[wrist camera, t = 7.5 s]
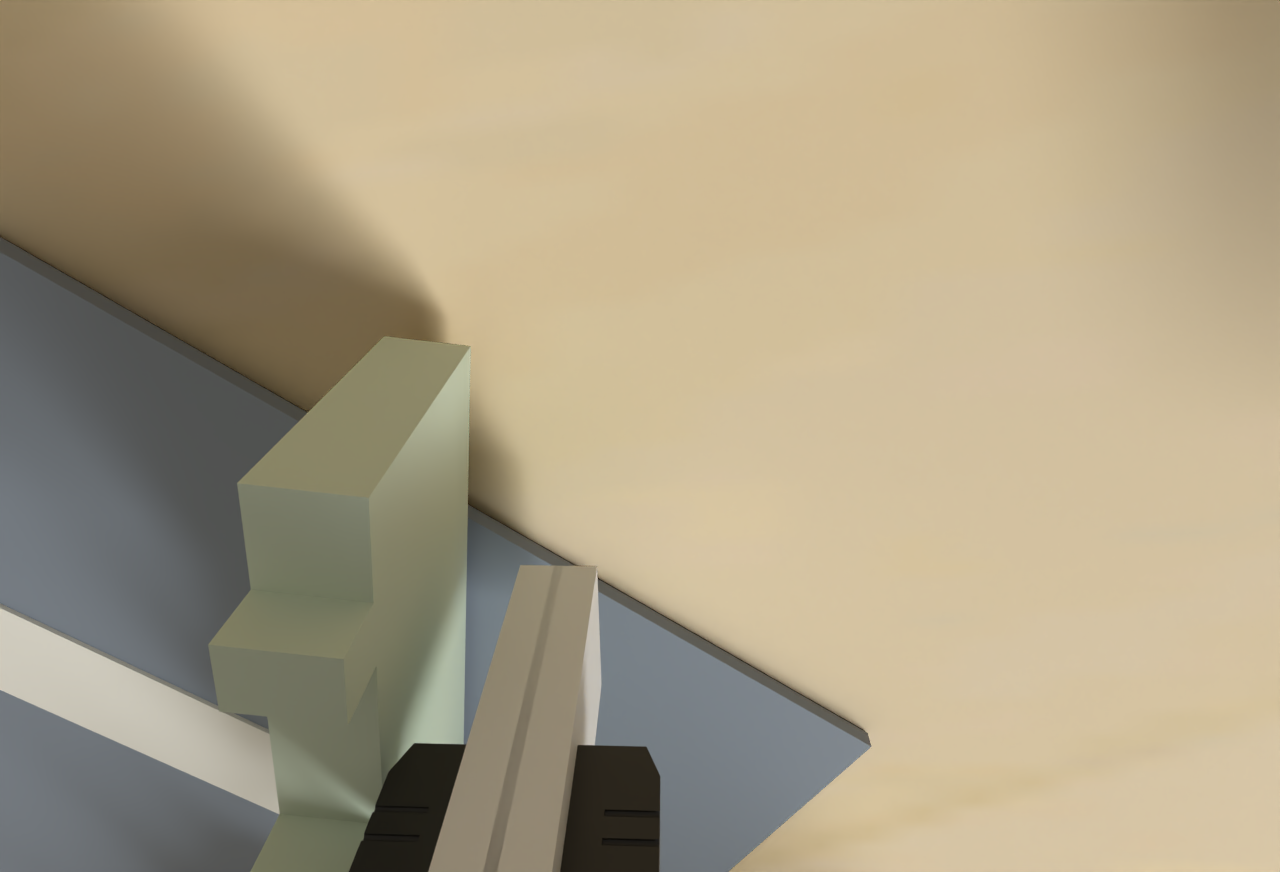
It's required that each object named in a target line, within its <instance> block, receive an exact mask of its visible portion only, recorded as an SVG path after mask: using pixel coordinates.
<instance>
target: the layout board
mask: <svg viewBox="0 0 1280 872" xmlns="http://www.w3.org/2000/svg"><path fill="white" fill-rule="evenodd" d="M306 414H307V412H305V411H303V410H302V409H300V408H298V407H296V406H295V405H293V404H291V403H289V402H288V401H286V400H284V399H282V398H281V397H279V396H277V395H275V394H274V393H272V392H270V391H269V390H267V389H265V388H263V387H262V386H260V385H258V384H256V383H255V382H253V381H251V380H249V379H248V378H246V377H244V376H242V375H241V374H239V373H237V372H235V371H234V370H232V369H230V368H228V367H227V366H225V365H223V364H221V363H220V362H218V361H216V360H214V359H213V358H211V357H209V356H207V355H206V354H204V353H202V352H200V351H199V350H197V349H195V348H193V347H192V346H190V345H188V344H186V343H185V342H183V341H181V340H179V339H178V338H176V337H174V336H172V335H171V334H169V333H167V332H165V331H164V330H162V329H160V328H158V327H157V326H155V325H153V324H151V323H150V322H148V321H146V320H144V319H143V318H141V317H139V316H137V315H136V314H134V313H132V312H130V311H129V310H127V309H125V308H123V307H122V306H120V305H118V304H116V303H115V302H113V301H111V300H109V299H108V298H106V297H104V296H102V295H101V294H99V293H97V292H95V291H94V290H92V289H90V288H88V287H87V286H85V285H83V284H81V283H80V282H78V281H76V280H74V279H73V278H71V277H69V276H67V275H66V274H64V273H62V272H60V271H59V270H57V269H55V268H53V267H52V266H50V265H48V264H46V263H45V262H43V261H41V260H39V259H38V258H36V257H34V256H32V255H31V254H29V253H27V252H25V251H24V250H22V249H20V248H18V247H17V246H15V245H13V244H12V243H10V242H8V241H6V240H5V239H3V238H1V237H0V872H250V871H251V869H252V867H253V865H254V863H255V861H256V860H257V858H258V856H259V854H260V852H261V850H262V848H263V846H264V844H265V842H266V840H267V838H268V836H269V834H270V832H271V830H272V828H273V826H274V824H275V822H276V820H277V818H278V816H279V814H280V812H279V804H278V797H277V789H276V781H275V773H274V766H273V758H272V750H271V742H270V735H269V727H268V719H267V717H266V716H256V715H247V714H237V713H228V712H219V708H218V702H217V696H216V690H215V684H214V678H213V672H212V666H211V659H210V653H209V647H208V644H209V643H210V642H211V640H212V639H213V638H214V636H215V635H216V634H217V633H218V631H219V630H220V629H221V627H222V626H223V625H224V624H225V622H226V621H227V620H228V618H229V617H230V616H231V615H232V613H233V612H234V611H235V609H236V608H237V607H238V606H239V604H240V603H241V602H242V600H243V599H244V598H245V597H246V595H247V594H248V593H249V591H250V590H251V587H250V579H249V572H248V564H247V556H246V548H245V541H244V533H243V525H242V517H241V510H240V502H239V494H238V486H237V483H238V482H239V481H240V480H241V479H242V478H243V477H244V476H245V475H246V474H247V473H248V472H249V471H250V470H251V469H252V468H253V467H254V466H255V465H256V464H257V463H258V462H259V461H260V460H261V459H262V458H263V457H264V456H265V455H266V454H267V453H268V452H269V451H270V450H271V449H272V448H273V447H274V446H275V445H276V444H277V443H278V442H279V441H280V440H281V439H282V438H283V437H284V436H285V435H286V434H287V433H288V432H289V431H290V430H291V429H292V428H293V427H294V426H295V425H296V424H297V423H298V422H299V421H300V420H301V419H302V418H303V417H304V416H305V415H306ZM520 565H548V566H574V565H573V564H571V563H569V562H567V561H566V560H564V559H562V558H560V557H559V556H557V555H555V554H553V553H552V552H550V551H548V550H546V549H545V548H543V547H541V546H539V545H538V544H536V543H534V542H532V541H531V540H529V539H527V538H526V537H524V536H522V535H520V534H519V533H517V532H515V531H513V530H512V529H510V528H508V527H506V526H505V525H503V524H501V523H499V522H498V521H496V520H494V519H492V518H491V517H489V516H487V515H485V514H484V513H482V512H480V511H478V510H477V509H475V508H473V507H471V506H470V505H468V526H467V582H466V638H465V695H464V744H467V741H468V738H469V734H470V731H471V728H472V724H473V721H474V718H475V714H476V711H477V708H478V704H479V701H480V698H481V694H482V691H483V688H484V684H485V681H486V678H487V674H488V671H489V668H490V664H491V661H492V658H493V654H494V651H495V648H496V644H497V641H498V638H499V634H500V631H501V628H502V624H503V621H504V618H505V614H506V611H507V608H508V604H509V601H510V598H511V594H512V591H513V588H514V584H515V581H516V578H517V574H518V571H519V568H520ZM598 604H599V631H600V658H601V694H600V703H599V712H598V720H597V729H596V738H595V745H603V746H645V747H647V749H648V751H649V753H650V755H651V757H652V759H653V762H654V764H655V766H656V768H657V770H658V772H659V774H660V872H728V871H730V870H731V869H732V868H733V867H734V866H735V865H736V864H738V863H739V862H740V861H741V860H742V859H743V858H744V857H746V856H747V855H748V854H749V853H750V852H751V851H752V850H754V849H755V848H756V847H757V846H758V845H759V844H760V843H762V842H763V841H764V840H765V839H766V838H767V837H768V836H770V835H771V834H772V833H773V832H774V831H775V830H776V829H778V828H779V827H780V826H781V825H782V824H783V823H784V822H786V821H787V820H788V819H789V818H790V817H791V816H793V815H794V814H795V813H796V812H797V811H798V810H799V809H801V808H802V807H803V806H804V805H805V804H806V803H807V802H809V801H810V800H811V799H812V798H813V797H814V796H815V795H817V794H818V793H819V792H820V791H821V790H822V789H823V788H825V787H826V786H827V785H828V784H829V783H830V782H831V781H833V780H834V779H835V778H836V777H837V776H838V775H839V774H841V773H842V772H843V771H844V770H845V769H846V768H847V767H849V766H850V765H851V764H852V763H853V762H854V761H855V760H857V759H858V758H859V757H860V756H861V755H862V754H863V753H865V752H866V751H867V750H868V749H869V748H870V747H871V744H870V740H869V737H868V733H866V732H865V731H863V730H861V729H859V728H858V727H856V726H854V725H852V724H851V723H849V722H847V721H845V720H844V719H842V718H840V717H838V716H837V715H835V714H833V713H831V712H830V711H828V710H826V709H824V708H823V707H821V706H819V705H817V704H816V703H814V702H812V701H810V700H809V699H807V698H805V697H803V696H802V695H800V694H798V693H796V692H795V691H793V690H791V689H789V688H788V687H786V686H784V685H783V684H781V683H779V682H777V681H776V680H774V679H772V678H770V677H769V676H767V675H765V674H763V673H762V672H760V671H758V670H756V669H755V668H753V667H751V666H749V665H748V664H746V663H744V662H742V661H741V660H739V659H737V658H735V657H734V656H732V655H730V654H728V653H727V652H725V651H723V650H721V649H720V648H718V647H716V646H714V645H713V644H711V643H709V642H707V641H706V640H704V639H702V638H700V637H699V636H697V635H695V634H693V633H692V632H690V631H688V630H686V629H685V628H683V627H681V626H679V625H678V624H676V623H674V622H672V621H671V620H669V619H667V618H665V617H664V616H662V615H660V614H658V613H657V612H655V611H653V610H651V609H650V608H648V607H646V606H644V605H643V604H641V603H639V602H637V601H636V600H634V599H632V598H630V597H629V596H627V595H625V594H623V593H622V592H620V591H618V590H616V589H615V588H613V587H611V586H609V585H608V584H606V583H604V582H602V581H601V580H599V579H598Z"/></svg>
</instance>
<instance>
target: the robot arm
mask: <svg viewBox="0 0 1280 872" xmlns="http://www.w3.org/2000/svg"><path fill="white" fill-rule="evenodd" d="M600 694H601V658H600V631H599V604H598V576H597V566H548V565H520V568H519V571H518V574H517V578H516V581H515V584H514V588H513V591H512V594H511V598H510V601H509V604H508V608H507V611H506V614H505V618H504V621H503V624H502V628H501V631H500V634H499V638H498V641H497V644H496V648H495V651H494V654H493V658H492V661H491V664H490V668H489V671H488V674H487V678H486V681H485V684H484V688H483V691H482V694H481V698H480V701H479V704H478V708H477V711H476V714H475V718H474V721H473V724H472V728H471V731H470V734H469V738H468V741H467V744H431V743H414V744H413V745H412V746H411V747H410V748H409V749H408V750H407V752H406V753H405V754H404V755H403V756H402V757H401V758H400V759H399V761H398V762H397V763H396V764H395V765H394V766H393V767H392V768H391V769H390V771H389V772H388V774H387V777H386V779H385V782H384V784H383V787H382V789H381V792H380V794H379V797H378V799H377V802H376V804H375V811H374V812H372V814H371V817H370V819H369V822H368V825H367V827H366V830H365V832H364V839H363V841H361V842H360V845H359V847H358V850H357V852H356V855H355V857H354V860H353V862H352V865H351V867H350V870H349V872H660V774H659V772H658V770H657V768H656V766H655V764H654V762H653V759H652V757H651V755H650V753H649V751H648V749H647V747H645V746H603V745H595V738H596V729H597V720H598V712H599V703H600Z"/></svg>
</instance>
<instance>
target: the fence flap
mask: <svg viewBox="0 0 1280 872" xmlns="http://www.w3.org/2000/svg"><path fill="white" fill-rule="evenodd" d="M470 357H471V346H465V345H457V344H448V343H439V342H431V341H422V340H413V339H405V338H396V337H387V336H384V337H383V338H382V339H381V340H380V341H379V342H378V343H377V344H376V345H375V346H374V347H373V348H372V349H371V350H370V351H369V352H368V353H367V354H366V355H365V356H364V357H363V358H362V359H361V360H360V361H359V362H358V363H357V364H356V365H355V366H354V367H353V368H352V369H351V370H350V371H349V372H348V373H347V374H346V375H345V376H344V377H343V378H342V379H341V380H340V381H339V382H338V383H337V384H336V385H335V386H334V387H333V388H332V389H331V390H330V391H329V392H328V393H327V394H326V395H325V396H324V397H323V398H322V399H321V400H320V401H319V402H318V403H317V404H316V405H315V406H314V407H313V408H312V409H311V410H310V411H309V412H308V413H307V414H306V415H305V416H304V417H303V418H302V419H301V420H300V421H299V422H298V423H297V424H296V425H295V426H294V427H293V428H292V429H291V430H290V431H289V432H288V433H287V434H286V435H285V436H284V437H283V438H282V439H281V440H280V441H279V442H278V443H277V444H276V445H275V446H274V447H273V448H272V449H271V450H270V451H269V452H268V453H267V454H266V455H265V456H264V457H263V458H262V459H261V460H260V461H259V462H258V463H257V464H256V465H255V466H254V467H253V468H252V469H251V470H250V471H249V472H248V473H247V474H246V475H245V476H244V477H243V478H242V479H241V480H240V481H239V482H238V483H237V486H238V494H239V502H240V510H241V517H242V525H243V533H244V541H245V548H246V556H247V564H248V572H249V579H250V587H251V590H250V591H249V593H248V594H247V595H246V597H245V598H244V599H243V600H242V602H241V603H240V604H239V606H238V607H237V608H236V609H235V611H234V612H233V613H232V615H231V616H230V617H229V618H228V620H227V621H226V622H225V624H224V625H223V626H222V627H221V629H220V630H219V631H218V633H217V634H216V635H215V636H214V638H213V639H212V640H211V642H210V643H209V644H208V647H209V653H210V659H211V666H212V672H213V678H214V684H215V690H216V696H217V702H218V708H219V712H228V713H237V714H247V715H256V716H266V717H267V719H268V727H269V735H270V742H271V750H272V758H273V766H274V773H275V781H276V789H277V797H278V804H279V812H280V814H279V816H278V818H277V820H276V822H275V824H274V826H273V828H272V830H271V832H270V834H269V836H268V838H267V840H266V842H265V844H264V846H263V848H262V850H261V852H260V854H259V856H258V858H257V860H256V861H255V863H254V865H253V867H252V869H251V871H250V872H349V870H350V867H351V865H352V862H353V860H354V857H355V855H356V852H357V850H358V847H359V845H360V842H361V841H363V839H364V832H365V830H366V827H367V825H368V822H369V819H370V817H371V814H372V812H374V811H375V804H376V802H377V799H378V797H379V794H380V792H381V789H382V787H383V784H384V782H385V779H386V777H387V774H388V772H389V771H390V769H391V768H392V767H393V766H394V765H395V764H396V763H397V762H398V761H399V759H400V758H401V757H402V756H403V755H404V754H405V753H406V752H407V750H408V749H409V748H410V747H411V746H412V745H413V744H414V743H431V744H464V695H465V638H466V582H467V526H468V469H469V413H470Z"/></svg>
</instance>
